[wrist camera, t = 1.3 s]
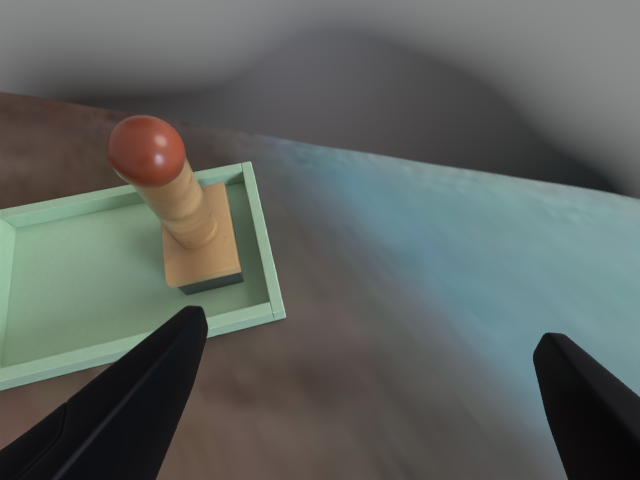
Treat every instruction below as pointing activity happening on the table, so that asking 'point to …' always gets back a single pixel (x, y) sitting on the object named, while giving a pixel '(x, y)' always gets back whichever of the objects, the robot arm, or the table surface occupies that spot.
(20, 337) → the tray
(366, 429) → the table surface
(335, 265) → the table surface
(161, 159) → the wooden rubber stamp
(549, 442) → the table surface
